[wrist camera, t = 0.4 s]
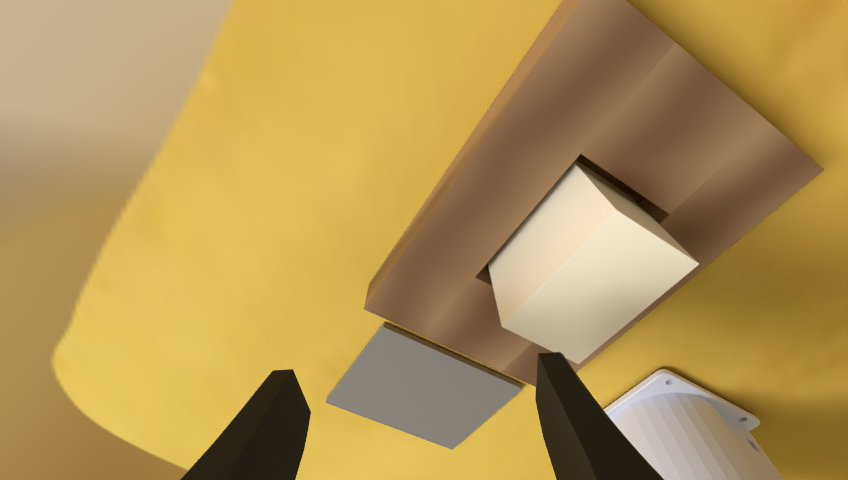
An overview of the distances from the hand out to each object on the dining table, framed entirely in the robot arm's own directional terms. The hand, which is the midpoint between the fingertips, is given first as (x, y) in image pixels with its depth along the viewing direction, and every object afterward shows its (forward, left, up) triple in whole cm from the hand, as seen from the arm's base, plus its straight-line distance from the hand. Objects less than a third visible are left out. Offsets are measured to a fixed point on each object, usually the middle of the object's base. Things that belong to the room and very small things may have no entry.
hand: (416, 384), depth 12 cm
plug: (-5, -4, -9) cm, 11 cm away
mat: (-6, +10, -9) cm, 15 cm away
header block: (-5, -4, -9) cm, 11 cm away
